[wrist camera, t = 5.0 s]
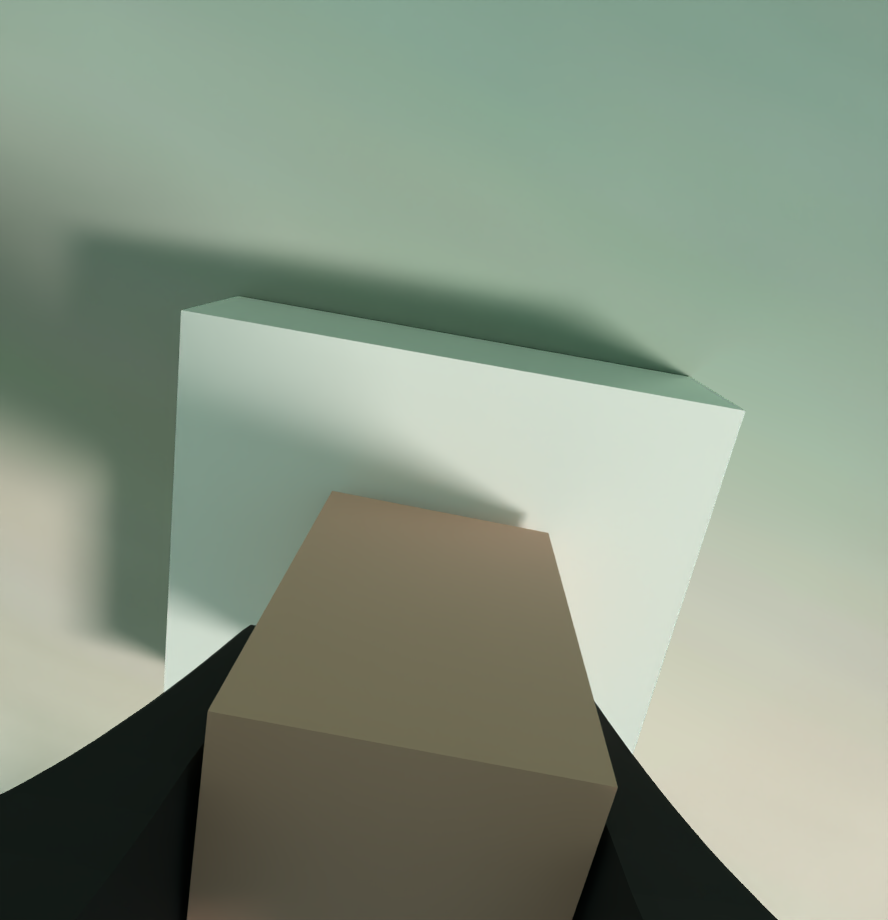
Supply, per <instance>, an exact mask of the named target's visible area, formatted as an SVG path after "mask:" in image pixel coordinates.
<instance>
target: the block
mask: <svg viewBox="0 0 888 920" xmlns="http://www.w3.org/2000/svg"><path fill="white" fill-rule="evenodd" d="M617 788H618V786H617V782H616V779H615V775H614V771H613V768H612V764H611V760H610V757H609V753H608V749H607V746H606V742H605V738H604V735H603V731H602V727H601V724H600V720H599V716H598V713H597V709H596V705H595V702H594V698H593V694H592V691H591V687H590V683H589V680H588V676H587V673H586V669H585V665H584V662H583V658H582V654H581V651H580V647H579V643H578V640H577V636H576V632H575V629H574V625H573V621H572V618H571V614H570V610H569V607H568V603H567V599H566V596H565V592H564V588H563V585H562V581H561V577H560V574H559V570H558V566H557V563H556V559H555V555H554V552H553V548H552V544H551V541H550V537H549V533H546V532H541V531H536V530H531V529H526V528H521V527H516V526H510V525H505V524H500V523H495V522H490V521H485V520H480V519H474V518H469V517H464V516H459V515H454V514H449V513H444V512H438V511H433V510H428V509H423V508H418V507H413V506H408V505H402V504H397V503H392V502H387V501H382V500H377V499H372V498H367V497H361V496H356V495H351V494H346V493H341V492H336V491H332V492H331V494H330V495H329V497H328V499H327V501H326V502H325V504H324V506H323V508H322V510H321V511H320V513H319V515H318V517H317V518H316V520H315V522H314V524H313V525H312V527H311V529H310V531H309V533H308V534H307V536H306V538H305V540H304V541H303V543H302V545H301V547H300V549H299V550H298V552H297V554H296V556H295V557H294V559H293V561H292V563H291V564H290V566H289V568H288V570H287V572H286V573H285V575H284V577H283V579H282V580H281V582H280V584H279V586H278V587H277V589H276V591H275V593H274V595H273V596H272V598H271V600H270V602H269V603H268V605H267V607H266V609H265V610H264V612H263V614H262V616H261V618H260V619H259V621H258V623H257V625H256V626H255V628H254V630H253V632H252V633H251V635H250V637H249V639H248V641H247V642H246V644H245V646H244V648H243V649H242V651H241V653H240V655H239V657H238V658H237V660H236V662H235V664H234V665H233V667H232V669H231V671H230V672H229V674H228V676H227V678H226V680H225V681H224V683H223V685H222V687H221V688H220V690H219V692H218V694H217V695H216V697H215V699H214V701H213V703H212V704H211V706H210V708H209V710H208V713H207V723H206V733H205V743H204V753H203V763H202V773H201V783H200V793H199V803H198V813H197V823H196V833H195V843H194V853H193V863H192V873H191V882H190V892H189V902H188V912H187V920H572V919H573V916H574V913H575V910H576V907H577V904H578V901H579V898H580V895H581V893H582V890H583V887H584V884H585V881H586V878H587V875H588V872H589V869H590V867H591V864H592V861H593V858H594V855H595V852H596V849H597V846H598V843H599V840H600V838H601V835H602V832H603V829H604V826H605V823H606V820H607V817H608V814H609V812H610V809H611V806H612V803H613V800H614V797H615V794H616V791H617Z"/></svg>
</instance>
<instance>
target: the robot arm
mask: <svg viewBox="0 0 888 920" xmlns="http://www.w3.org/2000/svg"><path fill="white" fill-rule="evenodd" d="M255 626H256V625H249V626H248V627H246V628H245V629H243V630H242V631H241V632H240V633H238V634H237V635H236V636H235V637H233V638H232V639H231V640H230V641H229V642H227V643H226V644H225V645H224V646H222V647H221V648H220V649H219V650H218V651H216V652H215V653H214V654H213V655H211V656H210V657H209V658H208V659H207V660H205V661H204V662H203V663H202V664H200V665H199V666H198V667H196V668H195V669H194V670H193V671H191V672H190V673H189V674H188V675H186V676H185V677H184V678H182V679H181V680H180V681H178V682H177V683H176V684H174V685H173V686H172V687H170V688H169V689H168V690H166V691H165V692H164V693H162V694H161V695H160V696H158V697H157V698H156V699H154V700H153V701H152V702H150V703H149V704H147V705H146V706H145V707H143V708H142V709H140V710H139V711H137V712H136V713H134V714H133V715H132V716H130V717H129V718H127V719H126V720H124V721H123V722H121V723H120V724H118V725H117V726H115V727H114V728H112V729H111V730H109V731H108V732H107V733H105V734H104V735H102V736H101V737H99V738H98V739H96V740H95V741H93V742H91V743H90V744H88V745H87V746H85V747H83V748H82V749H80V750H79V751H77V752H75V753H74V754H72V755H71V756H69V757H67V758H66V759H64V760H62V761H61V762H59V763H57V764H56V765H54V766H52V767H50V768H49V769H47V770H45V771H43V772H42V773H40V774H38V775H36V776H34V777H33V778H31V779H29V780H27V781H26V782H24V783H22V784H20V785H18V786H16V787H14V788H13V789H11V790H9V791H7V792H5V793H3V794H1V795H0V920H187V912H188V902H189V892H190V882H191V873H192V863H193V853H194V843H195V833H196V823H197V813H198V803H199V793H200V783H201V773H202V763H203V753H204V743H205V733H206V723H207V713H208V710H209V708H210V706H211V704H212V703H213V701H214V699H215V697H216V695H217V694H218V692H219V690H220V688H221V687H222V685H223V683H224V681H225V680H226V678H227V676H228V674H229V672H230V671H231V669H232V667H233V665H234V664H235V662H236V660H237V658H238V657H239V655H240V653H241V651H242V649H243V648H244V646H245V644H246V642H247V641H248V639H249V637H250V635H251V633H252V632H253V630H254V628H255ZM594 702H595V701H594ZM595 705H596V709H597V713H598V716H599V720H600V724H601V727H602V731H603V735H604V738H605V742H606V746H607V749H608V753H609V757H610V760H611V764H612V768H613V771H614V775H615V779H616V782H617V786H618V788H617V791H616V794H615V797H614V800H613V803H612V806H611V809H610V812H609V814H608V817H607V820H606V823H605V826H604V829H603V832H602V835H601V838H600V840H599V843H598V846H597V849H596V852H595V855H594V858H593V861H592V864H591V867H590V869H589V872H588V875H587V878H586V881H585V884H584V887H583V890H582V893H581V895H580V898H579V901H578V904H577V907H576V910H575V913H574V916H573V919H572V920H778V919H776V918H775V917H774V916H773V915H772V914H771V913H770V912H769V911H768V910H767V909H766V908H765V907H764V906H763V905H762V904H761V903H760V902H759V901H758V900H757V898H756V897H755V896H754V895H753V894H752V893H751V892H750V891H749V890H748V889H747V888H746V887H745V886H744V885H743V884H742V883H741V882H740V881H739V880H738V879H737V878H736V877H735V876H734V875H733V874H732V873H731V872H730V871H729V870H728V869H727V868H726V866H725V865H724V864H723V863H722V862H721V861H720V860H719V859H718V858H717V857H716V856H715V854H714V853H713V852H712V851H711V850H710V849H709V848H708V847H707V846H706V844H705V843H704V842H703V841H702V840H701V839H700V838H699V836H698V835H697V834H696V833H695V832H694V830H693V829H692V828H691V827H690V826H689V825H688V823H687V822H686V821H685V820H684V819H683V817H682V816H681V815H680V814H679V813H678V812H677V810H676V809H675V808H674V807H673V806H672V804H671V803H670V802H669V801H668V799H667V798H666V797H665V796H664V794H663V793H662V792H661V791H660V789H659V788H658V787H657V786H656V784H655V783H654V782H653V781H652V779H651V778H650V777H649V775H648V774H647V773H646V772H645V770H644V769H643V768H642V766H641V765H640V764H639V762H638V761H637V760H636V758H635V757H634V756H633V754H632V753H631V752H630V750H629V749H628V747H627V746H626V745H625V743H624V742H623V741H622V739H621V738H620V736H619V735H618V734H617V732H616V731H615V729H614V728H613V727H612V725H611V724H610V722H609V721H608V720H607V718H606V717H605V715H604V714H603V713H602V711H601V710H600V708H599V707H598V705H597V704H596V703H595Z"/></svg>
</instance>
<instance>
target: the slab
mask: <svg viewBox="0 0 888 920" xmlns="http://www.w3.org/2000/svg"><path fill="white" fill-rule="evenodd" d="M744 414H745V410H743V409H742V408H740V407H738V406H737V405H735V404H734V403H732V402H730V401H729V400H727V399H726V398H724V397H722V396H721V395H719V394H718V393H716V392H714V391H713V390H711V389H709V388H708V387H706V386H705V385H703V384H701V383H700V382H698V381H697V380H695V379H693V378H692V377H687V376H682V375H676V374H671V373H665V372H659V371H654V370H648V369H643V368H637V367H631V366H626V365H620V364H615V363H609V362H604V361H598V360H592V359H587V358H581V357H576V356H570V355H565V354H559V353H553V352H548V351H542V350H537V349H531V348H525V347H520V346H514V345H509V344H503V343H498V342H492V341H486V340H481V339H475V338H470V337H464V336H459V335H453V334H447V333H442V332H436V331H431V330H425V329H419V328H414V327H408V326H403V325H397V324H392V323H386V322H380V321H375V320H369V319H364V318H358V317H353V316H347V315H341V314H336V313H330V312H325V311H319V310H313V309H308V308H302V307H297V306H291V305H286V304H280V303H274V302H269V301H263V300H258V299H252V298H247V297H241V296H236V297H232V298H228V299H224V300H220V301H216V302H212V303H208V304H204V305H200V306H196V307H192V308H188V309H184V310H181V324H180V346H179V368H178V390H177V412H176V434H175V456H174V478H173V500H172V522H171V544H170V566H169V588H168V610H167V632H166V654H165V676H164V692H165V691H166V690H168V689H169V688H170V687H172V686H173V685H174V684H176V683H177V682H178V681H180V680H181V679H182V678H184V677H185V676H186V675H188V674H189V673H190V672H191V671H193V670H194V669H195V668H196V667H198V666H199V665H200V664H202V663H203V662H204V661H205V660H207V659H208V658H209V657H210V656H211V655H213V654H214V653H215V652H216V651H218V650H219V649H220V648H221V647H222V646H224V645H225V644H226V643H227V642H229V641H230V640H231V639H232V638H233V637H235V636H236V635H237V634H238V633H240V632H241V631H242V630H243V629H245V628H246V627H248V626H249V625H257V623H258V621H259V619H260V618H261V616H262V614H263V612H264V610H265V609H266V607H267V605H268V603H269V602H270V600H271V598H272V596H273V595H274V593H275V591H276V589H277V587H278V586H279V584H280V582H281V580H282V579H283V577H284V575H285V573H286V572H287V570H288V568H289V566H290V564H291V563H292V561H293V559H294V557H295V556H296V554H297V552H298V550H299V549H300V547H301V545H302V543H303V541H304V540H305V538H306V536H307V534H308V533H309V531H310V529H311V527H312V525H313V524H314V522H315V520H316V518H317V517H318V515H319V513H320V511H321V510H322V508H323V506H324V504H325V502H326V501H327V499H328V497H329V495H330V494H331V492H332V491H336V492H341V493H346V494H351V495H356V496H361V497H367V498H372V499H377V500H382V501H387V502H392V503H397V504H402V505H408V506H413V507H418V508H423V509H428V510H433V511H438V512H444V513H449V514H454V515H459V516H464V517H469V518H474V519H480V520H485V521H490V522H495V523H500V524H505V525H510V526H516V527H521V528H526V529H531V530H536V531H541V532H546V533H549V537H550V541H551V544H552V548H553V552H554V555H555V559H556V563H557V566H558V570H559V574H560V577H561V581H562V585H563V588H564V592H565V596H566V599H567V603H568V607H569V610H570V614H571V618H572V621H573V625H574V629H575V632H576V636H577V640H578V643H579V647H580V651H581V654H582V658H583V662H584V665H585V669H586V673H587V676H588V680H589V683H590V687H591V691H592V694H593V698H594V701H595V703H596V704H597V705H598V707H599V708H600V710H601V711H602V713H603V714H604V715H605V717H606V718H607V720H608V721H609V722H610V724H611V725H612V727H613V728H614V729H615V731H616V732H617V734H618V735H619V736H620V738H621V739H622V741H623V742H624V743H625V745H626V746H627V747H628V749H629V750H630V752H631V753H632V754H633V753H634V749H635V746H636V743H637V740H638V737H639V734H640V731H641V728H642V725H643V722H644V719H645V716H646V713H647V710H648V707H649V704H650V701H651V698H652V694H653V691H654V688H655V685H656V682H657V679H658V676H659V673H660V670H661V667H662V664H663V661H664V658H665V655H666V652H667V649H668V646H669V643H670V640H671V636H672V633H673V630H674V627H675V624H676V621H677V618H678V615H679V612H680V609H681V606H682V603H683V600H684V597H685V594H686V591H687V588H688V585H689V582H690V578H691V575H692V572H693V569H694V566H695V563H696V560H697V557H698V554H699V551H700V548H701V545H702V542H703V539H704V536H705V533H706V530H707V527H708V523H709V520H710V517H711V514H712V511H713V508H714V505H715V502H716V499H717V496H718V493H719V490H720V487H721V484H722V481H723V478H724V475H725V472H726V469H727V465H728V462H729V459H730V456H731V453H732V450H733V447H734V444H735V441H736V438H737V435H738V432H739V429H740V426H741V423H742V420H743V417H744Z"/></svg>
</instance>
